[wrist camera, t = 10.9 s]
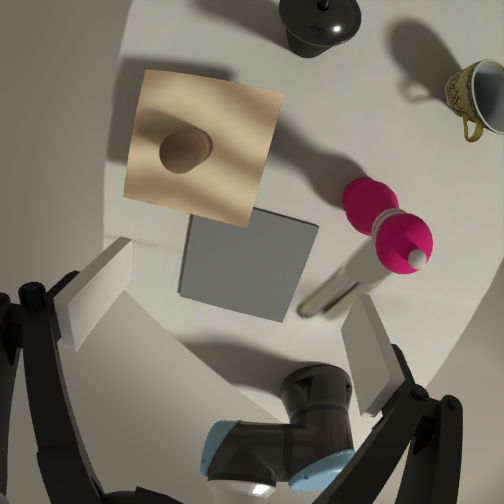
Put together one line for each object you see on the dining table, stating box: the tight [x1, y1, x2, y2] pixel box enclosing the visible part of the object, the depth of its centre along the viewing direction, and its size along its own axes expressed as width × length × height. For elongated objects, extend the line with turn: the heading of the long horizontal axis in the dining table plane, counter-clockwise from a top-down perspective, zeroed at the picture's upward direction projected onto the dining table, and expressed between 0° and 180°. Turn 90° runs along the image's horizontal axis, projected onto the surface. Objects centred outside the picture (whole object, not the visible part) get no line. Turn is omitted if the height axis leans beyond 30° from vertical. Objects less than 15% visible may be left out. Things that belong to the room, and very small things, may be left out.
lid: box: [123, 69, 285, 228], centre depth 30 cm, size 16×16×7 cm
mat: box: [180, 208, 319, 322], centre depth 47 cm, size 18×18×1 cm
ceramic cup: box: [444, 59, 504, 142], centre depth 28 cm, size 13×10×10 cm
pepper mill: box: [343, 178, 433, 274], centre depth 32 cm, size 7×7×20 cm
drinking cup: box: [279, 0, 361, 58], centre depth 23 cm, size 8×8×20 cm
